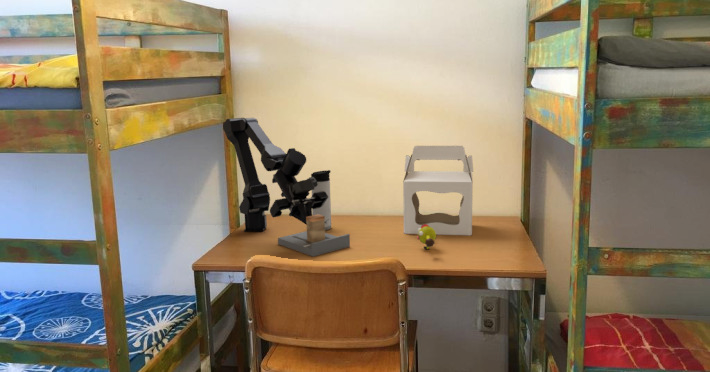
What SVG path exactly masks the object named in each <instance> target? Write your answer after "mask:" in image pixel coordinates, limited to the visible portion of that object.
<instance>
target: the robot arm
mask: <svg viewBox="0 0 710 372" xmlns="http://www.w3.org/2000/svg"><path fill="white" fill-rule="evenodd" d="M222 128H223V129H222V130H223V132H224V133H225V134H224V135H225V136H226V139H227V140H228V141H229V142H230V143H231V144H232V145H233V146H234V151H235V153H236V157H237V161H238V164H239V168H240V172H241V176H242V180H243V183H244V189H243V192H242V201H241V203H240V205H239V206H238V209H239V213H240V214H243V215H244V229H243V232H245V233H246V232H264V231H265V230H266V228H267V227H268V222H267V214H266V213H265V212H268V211H269V213H270V215H271V217H272V218H277V217H281V216H282V213H283V212H282V211H284V210H285V211H286V210H289V213H288V216H289V217H293V218H294V219H297V221H299V222H301V223H303V224H305V225H306V226H307V223H306V217H308V216H313V215H312V209H317V208H320V207H322V206H323V204H324V203H325V201H326V200H327V199H328V195H327V194H326V192H324V191H321V192H315V193H314V194H313V195H312V194H311V196H310V197H308V196H309V195H310V191H311V192H312V190H314V189H315V187H316V186H317V185H318V184H317V181H316V179H315V178H314V177H311V176H310V177H308V178H306V179H303V180H297V178H296V176H298V175H299V174H300V172H301V171H302V169H303V167H304V166H305V164H306V163H307V157H306V155H305V154H303V153H302V152H300V151H299V150H297V149H296V148H295V147H292V148H288V150H287V152H285V151H284V150H283V149H282V148H281V147H278V146H277V145H275V144H273V142H272V140H270V138H269V136H268V135H267V134H266V133H265V132H264V130H263V128H262V127H261V126H260V124H259V121H258V119H257V118H255V117H246V118H245V117H235V118H234V117H233V118H226V120H225V121H224V123H222ZM249 139H250V141H251V142H252V144H253V145H254V146H255V148H256V150H257V151H258V152H259V153H260V162H261V164H262V165H263V168H264V170H266V171H267V172H274V171H275V173H273V175H272V180H271V182H272V184H275V183H277V185H278V187H279V189H280V191H281V193H280V196H281V198H277V199H275V200H274V202H273V203H272V204H271V197H270V192H269V189H268V185H267V184H266V183H264V184H263V183H262V182H261V181H260V178H259V175H258V172H257V168H256V166H255V165H256V164H255V162H254V157H253V154H252V150H251V147H250V142H249ZM270 204H271V207H270Z"/></svg>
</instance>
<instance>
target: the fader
mask: <svg viewBox="0 0 710 372" xmlns="http://www.w3.org/2000/svg"><path fill="white" fill-rule="evenodd" d="M324 219H325V216H323V215H319V214H317V215H312V216H308V217H306V223H307V225H306V231H307V239H306V242H307V243H310V244H311V243H314V242H318V241H322V240H325V233H326V230H325V223H324Z"/></svg>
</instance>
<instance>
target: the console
mask: <svg viewBox="0 0 710 372" xmlns="http://www.w3.org/2000/svg"><path fill="white" fill-rule="evenodd" d="M306 239H307V230H305V231H301V232H298V233H294V234H293V233H291V234H289V235H284V236H281V237H277V244H278V245H280V246H282V247H285V248H287V249H291V250H294V251H297V252H299V253H302V254H303V255H307V256H310V257H317V256H320V255H324V254H328V253H330V252H331V253H332V252H334V251H338V250H339V251H340V250H341V249H346V248H350V247H351V243H350V242H351V241H350V240H351V239H350V234H348V233H347V234H342V235H338V236H337V235H334V234H330V233H327V232H325V240H322V241H318V242H314V243H311V244H310V243H307V242H306Z"/></svg>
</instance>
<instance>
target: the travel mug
mask: <svg viewBox="0 0 710 372" xmlns="http://www.w3.org/2000/svg"><path fill="white" fill-rule="evenodd" d="M330 174H331V170H330V169H327V170H318V171H314V172H312V173H311V174H310V177H314V178H315V179H316V181H317V184H318V185H317V186H316V187H315V189H314V190H311V196H312V195H313V194H314V193H315V192H321V191H324V192H326V194H327V195H328V199H327V200H326V201H325V203H324V204H323V206H322V207H320V208H317V209H312V216H313V215H317V214H319V215H323V216H325V219H324V223H325V231H328V230H330V229H332V208H331V206H332V205H331V204H332V203H331V182H330V181H331V179H330V176H331V175H330Z"/></svg>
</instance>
